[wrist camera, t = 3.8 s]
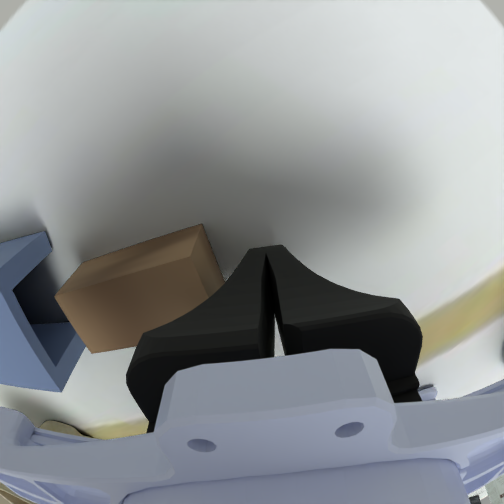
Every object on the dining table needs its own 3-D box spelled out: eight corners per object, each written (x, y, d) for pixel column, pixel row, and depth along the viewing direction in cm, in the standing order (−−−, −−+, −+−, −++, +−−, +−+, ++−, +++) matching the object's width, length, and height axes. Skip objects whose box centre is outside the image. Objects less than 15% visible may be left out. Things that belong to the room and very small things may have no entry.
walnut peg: (202, 221, 12) (190, 256, 10) (227, 284, 14) (222, 328, 11) (84, 260, 13) (53, 296, 10) (113, 312, 14) (91, 353, 12)
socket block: (45, 231, 12) (-8, 274, 8) (91, 336, 15) (61, 392, 11) (-25, 250, 12) (-68, 287, 9) (18, 337, 15) (-12, 381, 11)
